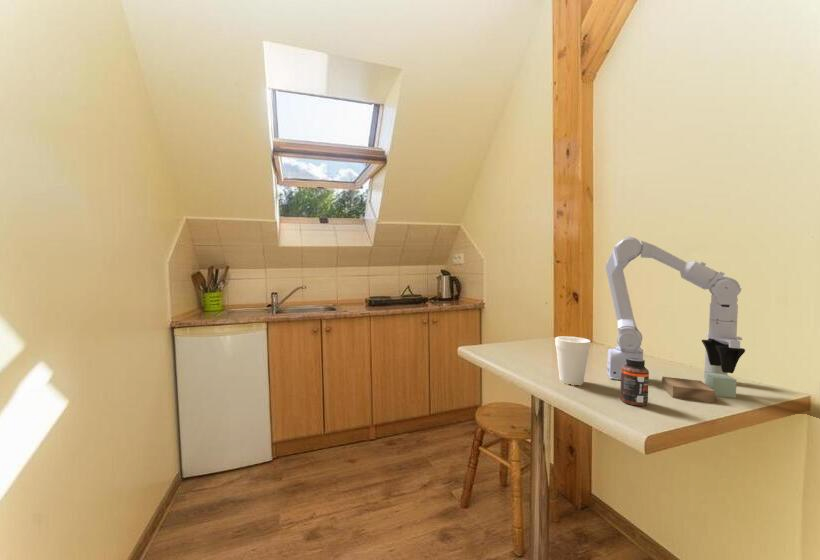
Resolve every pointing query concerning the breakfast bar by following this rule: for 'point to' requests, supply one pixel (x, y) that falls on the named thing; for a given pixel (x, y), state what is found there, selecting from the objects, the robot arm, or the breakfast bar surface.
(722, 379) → the grey-green cube
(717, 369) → the energy drink
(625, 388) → the supplement bottle
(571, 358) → the foam cup
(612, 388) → the breakfast bar surface
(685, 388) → the walnut block
